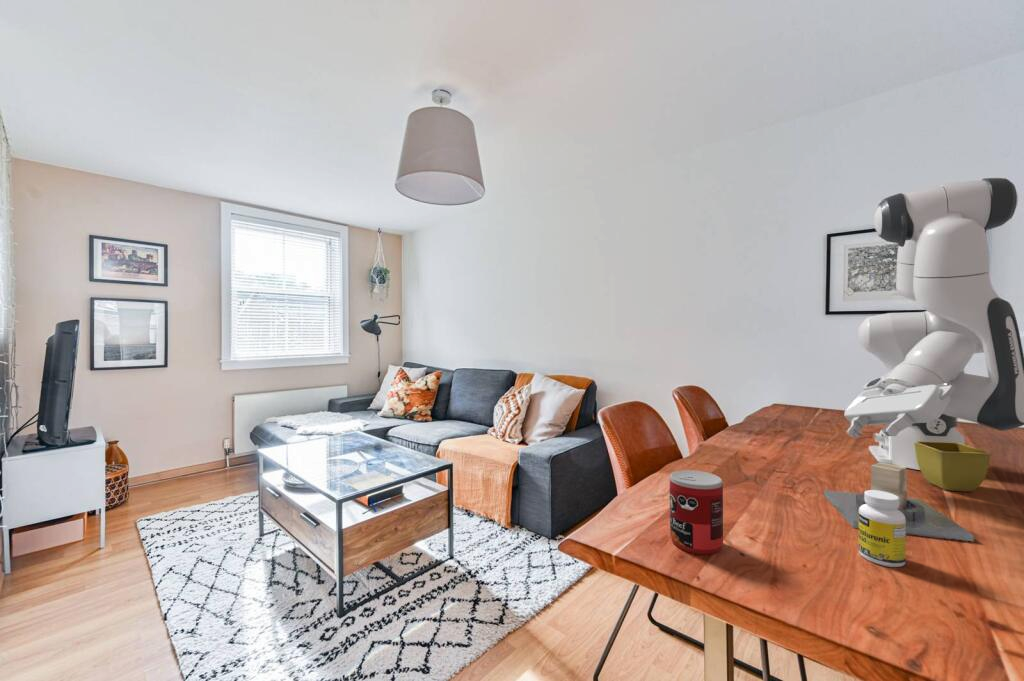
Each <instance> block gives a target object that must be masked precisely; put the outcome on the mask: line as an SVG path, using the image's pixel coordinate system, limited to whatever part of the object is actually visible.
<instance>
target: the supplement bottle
mask: <svg viewBox="0 0 1024 681" xmlns="http://www.w3.org/2000/svg"><path fill="white" fill-rule="evenodd" d="M863 493H864V499H865V502H866V503H867V504H863V505H861V506H860V508H859V528H858V552H859V554H860V555H861V557H862V558H864V559H866V560H868V561H869V562H872V563H874V564H877V565H879V566H880V565H881V566H884V567H890V568H899V567H903V566H905V565H906V560H907V559H906V558H907V557H906V553H907V549H906V548H907V544H906V543H907V540H906V538H907V534H906V519H905V516H904V514H903V513H902V512H901V511H899V510H897V508H899V497H898V496H896V495H894V494H891V493H888V492H884V491H878V490H871V489H868V490H865V491H864V492H863Z"/></svg>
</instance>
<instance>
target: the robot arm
mask: <svg viewBox="0 0 1024 681" xmlns="http://www.w3.org/2000/svg"><path fill="white" fill-rule="evenodd" d="M1018 202H1019V195H1018V192H1017V189H1016V186H1015V184H1014V183H1013V182H1012V181H1011V180H1009V179H1008V178H1004V177H1003V178H1002V177H989V178H988V177H987V178H985V177H984V178H983V179H982V180H968V181H959V182H951V183H950V182H949V183H943V184H940V185H936V186H931V187H927V188H922V189H917V190H914V191H910V192H906V193H901V192H900V193H896V194H894V195H890V196H888V197H885V198H883V199H882V200H881V201H880V202H879V204H878V206H877V209H876V210H875V212H874V216H873V226H874V229H875V231H876V233H877V235H878V237H879V238H881V239H882V240H884V241H886V242H890V243H894V244H897V245H898V246H897V254H896V255H897V256H896V275H895V276H896V278H895V289H896V291H897V293H899V294H900V295H901V296H902V297H903V298H906V299H909V300H911V301H913V302H914V301H915V302H916V303H917V304H918V305H919V306H920V307H921V308H922V309H923V310H925V311H918V312H917V311H915V312H914V311H913V312H912V311H911V312H887V313H883V314H876V315H871V316H868V317H865V319H864V320H863V321H862V322H861V323H860V325H859V327H858V329H857V330H858V331H857V339H858V342H859V344H860V346H862V348H863V349H864V350H866V351H867V352H869V353H870V354H872V355H874V356H875V357H876V358H878V359H879V360H880V361H881V362H882V363H883V364H884V365H885V367H886V368H887V370H888V372H887V373H885V374H884V375H883V376H880V377H877V378H876V379H873V380H870V381H869V382H867V383H866V384H864V386H863V387H862V388H863V391H862V392H861V393H859V394H858V395H857V396H856V397H855V398H854V399H853V400H852V402H851V403H850V404H849V405H848V407H846V409H845V410H844V417H845V418H846V419H847V420H848V421H849V422H850V426H849V428H848V429H847V430H846V433H847V435H848V436H850V437H851V438H858V437H860V435H862V434H863V430H862V428H865V427H866V426H881V425H882V426H884V427H883V428H882V429H881V430H880V431H879V433H877V432H876V433H874V442H876V443H878V445H869V446H868V451H869V452H870V453H871V454H872V456H873V457H874V458H875V459H876V461H877V462H882V463H887V464H892V465H897V466H902V467H906V469H911V470H918V471H921V470H920V468H919V466H918V462H917V457H916V451H915V444H914V442H915V441H923V442H953V443H960V444H964V445H966V444H965V438H964V435H963V434H962V432H959V431H958V430H957V428H956V427H958V421H959V420H963V421H967V422H973V423H976V424H979V425H981V426H985V427H988V428H991V429H994V430H998V431H1001V432H1002V431H1003V432H1004V431H1008V430H1013V429H1017V428H1020V427H1023V426H1024V350H1023V344H1022V338H1021V333H1020V330H1019V326H1018V320H1017V317H1016V314H1015V311H1014V308H1013V306H1012V305H1011V303H1010V302H1009V301H1008V300H1005V299H1003V298H1001V297H1000V296H999V295H998V294H997V292H996V291H995V289H994V288H993V285H992V282H991V278H990V251H989V242H988V238H987V233H986V231H990V230H992V229H995V228H998V227H1001V226H1003V225H1004V224H1006V223H1007V222H1009V221H1010V220H1011V219H1012V218H1013V216H1014V215H1015V211H1016V209H1017V206H1018ZM982 353H983V355H984V359H985V364H986V370H987V376H982V375H976V374H971V373H970V374H969V373H965V368H966V366H967V365H968V363H969V362H970V360H971V359H972V358H973V356H974V355H975V354H982Z"/></svg>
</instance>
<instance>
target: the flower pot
mask: <svg viewBox="0 0 1024 681" xmlns="http://www.w3.org/2000/svg"><path fill="white" fill-rule="evenodd" d="M914 444H915V451H916V457H917V462H918V466H919V468H920V470H919V471H920V472H921V474H922V475H923V476H924V479H925V480H926V481H927V482H928V483H930V484H932V485H934V486H936V487H938V488H940V489H942V490H945V491H955V492H956V491H957V492H958V491H959V492H974V491H975V490H977V489H978V487H980V486H981V484H982V483H983V482H984V481H985V479H986V477H987V472H988V470H989V465H990V461H991V460H990V459H991V456H992V453H990V452H988V451H985V450H984V449H983V450H982V449H979V448H976V447H973V446H970V445H967V444H965V443H964V444H965V445H964V444H960V443H953V442H923V441H915V442H914Z"/></svg>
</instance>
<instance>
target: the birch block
mask: <svg viewBox="0 0 1024 681" xmlns="http://www.w3.org/2000/svg"><path fill="white" fill-rule="evenodd" d="M907 487H908V486H907V467H902V466H898V465H894V464H889V463H883V462H879V461H877V462H876V463H874V464H872V465H870V490H878V491H884V492H888V493H891V494H894V495H896V496H898V497H899V508H897V509H907V498H908V497H907V490H908V489H907Z"/></svg>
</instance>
